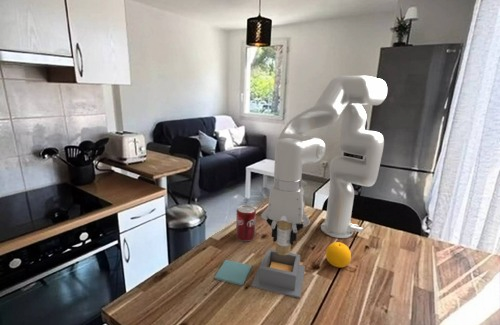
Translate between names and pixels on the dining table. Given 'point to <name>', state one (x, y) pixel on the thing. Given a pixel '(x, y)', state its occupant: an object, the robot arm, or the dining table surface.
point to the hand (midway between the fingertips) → (283, 240)
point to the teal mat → (233, 272)
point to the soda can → (245, 223)
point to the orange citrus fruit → (338, 254)
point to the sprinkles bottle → (283, 236)
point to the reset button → (281, 266)
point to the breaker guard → (280, 274)
